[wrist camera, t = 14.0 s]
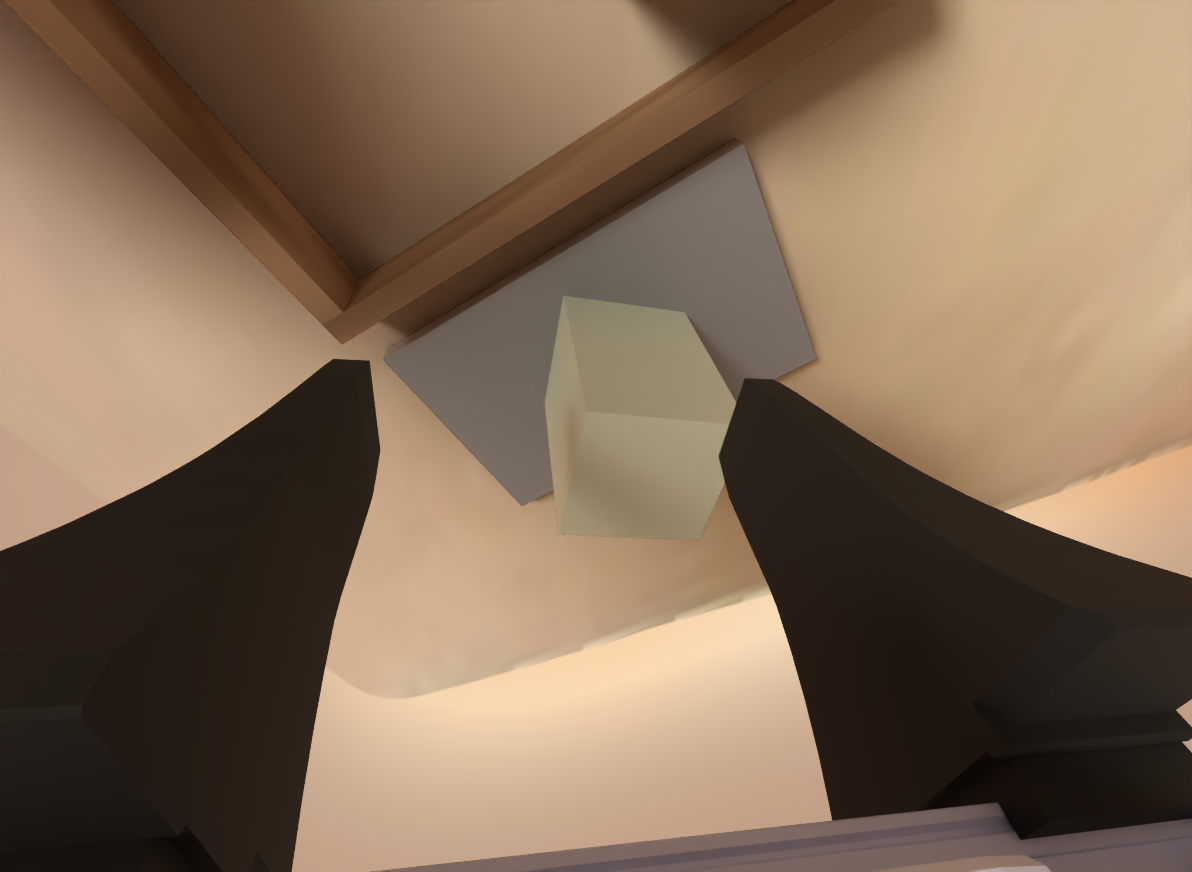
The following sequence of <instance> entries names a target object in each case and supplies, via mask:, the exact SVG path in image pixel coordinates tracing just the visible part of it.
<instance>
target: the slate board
mask: <svg viewBox="0 0 1192 872" xmlns="http://www.w3.org/2000/svg"><path fill="white" fill-rule="evenodd" d="M563 296H570V297H577V298H585V299H592V300H599V301H607V302H614V303H621V304H629V305H636V306H643V307H651V308H658V309H665V310H672V311H680V312H685V314H686V315H687V317H688V319H689V321H690V322H691V324H692V326H693V328H694V329H695V331H696V333H697V335H698V336H699V338H700V340H701V342H702V343H703V345H704V347H705V349H706V350H707V352H708V354H709V356H710V357H711V359H712V361H713V363H714V364H715V366H716V368H717V370H718V371H719V373H720V375H721V377H722V378H723V380H724V382H725V384H726V385H727V387H728V389H729V391H730V392H731V394H732V396H733V398H734V399H737V398H738V396H739V394H740V391H741V388H742V385H743V382H744V379H745V378H754V379H773V380H775V379H777V378H779V377H781V376H783V375H785V374H787V373H789V372H791V371H793V370H795V369H797V368H799V367H801V366H803V365H805V364H807V363H809V362H811V361H813V360H815V359H817V358H816V355H815V352H814V349H813V346H812V343H811V340H810V337H809V334H808V331H807V328H806V325H805V322H804V320H803V317H802V314H801V311H800V308H799V305H798V302H797V299H796V296H795V293H794V290H793V287H792V284H791V281H790V278H789V275H788V272H787V269H786V266H785V263H784V260H783V257H782V255H781V252H780V249H779V246H778V243H777V240H776V237H775V234H774V231H773V228H772V225H771V222H770V219H769V216H768V213H767V210H766V207H765V204H764V201H763V198H762V195H761V193H760V190H759V187H758V184H757V181H756V178H755V175H754V172H753V169H752V166H751V163H750V160H749V157H748V154H747V151H746V148H745V145H744V143H742V142H741V141H739V140H737V139H736V138H735V139H734V140H732V141H730V142H729V143H727V144H725V145H724V146H722V147H720V148H719V149H717V150H715V151H714V152H712V153H710V154H709V155H707V156H705V157H704V158H702V159H701V160H699V161H697V162H696V163H694V164H692V165H691V166H689V167H687V168H686V169H684V170H682V171H681V172H679V173H677V174H676V175H674V176H672V177H671V178H669V179H667V180H666V181H664V182H662V183H661V184H659V185H657V186H656V187H654V188H652V189H651V190H649V191H648V192H646V193H644V194H643V195H641V196H639V197H638V198H636V199H634V200H633V201H631V202H629V203H628V204H626V205H624V206H623V207H621V208H619V209H618V210H616V211H614V212H613V213H611V214H609V215H608V216H606V217H604V218H603V219H601V220H599V221H598V222H596V223H595V224H593V225H591V226H590V227H588V228H586V229H585V230H583V231H581V232H580V233H578V234H576V235H575V236H573V237H571V238H570V239H568V240H566V241H565V242H563V243H561V244H560V245H558V246H556V247H555V248H553V249H551V250H550V251H548V252H546V253H545V254H543V255H542V256H540V257H538V258H537V259H535V260H533V261H532V262H530V263H528V264H527V265H525V266H523V267H522V268H520V269H518V270H517V271H515V272H513V273H512V274H510V275H508V276H507V277H505V278H503V279H502V280H500V281H498V282H497V283H495V284H493V285H492V286H490V287H489V288H487V289H485V290H484V291H482V292H480V293H479V294H477V295H475V296H474V297H472V298H470V299H469V300H467V301H465V302H464V303H462V304H460V305H459V306H457V307H455V308H454V309H452V310H450V311H449V312H447V313H445V314H444V315H442V316H440V317H439V318H437V319H436V320H434V321H432V322H431V323H429V324H427V325H426V326H424V327H422V328H421V329H419V330H417V331H416V332H414V333H412V334H411V335H409V336H407V337H406V338H404V339H402V340H401V341H399V342H397V343H396V344H394V345H392V346H391V347H389V348H387V350H386V353H385V356H384V359H383V360H384V361H385V362H386V363H387V364H388V366H389V367H390V368H391V369H392V370H393V371H394V372H395V373H396V374H397V375H398V376H399V377H400V378H401V379H402V380H403V381H404V382H405V383H406V384H407V386H408V387H409V388H410V389H411V390H412V391H413V392H414V393H415V394H416V395H417V396H418V397H419V398H420V399H421V400H422V401H423V402H424V403H425V405H426V406H427V407H428V408H429V409H430V410H431V411H432V412H433V413H434V414H435V415H436V416H437V417H438V418H439V419H440V420H441V421H442V422H443V423H444V425H445V426H446V427H447V428H448V429H449V430H450V431H451V432H452V433H453V434H454V435H455V436H456V437H457V438H458V439H459V440H460V441H461V442H462V444H463V445H464V446H465V447H466V448H467V449H468V450H469V451H470V452H471V453H472V454H473V455H474V456H475V457H476V458H477V459H478V460H479V461H480V462H481V464H482V465H483V466H484V467H485V468H486V469H487V470H488V471H489V472H490V473H491V474H492V475H493V476H494V477H495V478H496V479H497V480H498V481H499V483H500V484H501V485H502V486H503V487H504V488H505V489H506V490H507V491H508V492H509V493H510V494H511V495H512V496H513V497H514V498H515V499H516V500H517V502H518V503H519V504H520V505H521V506H523V505H525V504H527V503H529V502H531V501H533V500H535V499H537V498H539V497H541V496H543V495H545V494H547V493H549V492H551V491H553V490H554V489H553V479H552V470H551V460H550V450H549V440H548V430H547V421H546V411H545V397H546V392H547V386H548V380H549V375H550V369H551V363H552V357H553V352H554V346H555V340H556V335H557V329H558V323H559V318H560V312H561V306H562V300H563Z"/></svg>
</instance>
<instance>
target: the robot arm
mask: <svg viewBox="0 0 1192 872" xmlns="http://www.w3.org/2000/svg"><path fill="white" fill-rule="evenodd" d="M379 455H380V443H379V435H378V427H377V419H376V411H375V402H374V394H373V386H372V378H371V369H370V361H365V360H343V359H333V360H331V361H330V362H329V363H327V364H326V365H324V366H323V367H322V368H321V369H319V370H318V371H317V372H316V373H314V374H313V375H312V376H310V377H309V378H308V379H307V380H305V381H304V382H303V383H302V384H300V385H299V386H298V387H297V388H295V389H294V390H293V391H292V392H290V393H289V394H288V395H286V396H285V397H284V398H282V399H281V400H280V401H279V402H277V403H276V404H275V405H273V406H272V407H271V408H269V409H268V410H267V411H265V412H264V413H263V414H261V415H260V416H259V417H257V418H256V419H254V420H253V421H251V422H250V423H248V424H247V425H245V426H244V427H243V428H241V429H240V430H238V431H237V432H235V433H234V434H232V435H231V436H229V437H228V438H226V439H225V440H223V441H222V442H221V443H219V444H218V445H216V446H215V447H213V448H212V449H210V450H208V451H207V452H205V453H204V454H202V455H200V456H199V457H197V458H195V459H194V460H192V461H190V462H189V463H187V464H185V465H183V466H182V467H180V468H178V469H176V470H174V471H173V472H171V473H169V474H167V475H165V476H164V477H162V478H160V479H158V480H156V481H155V482H153V483H151V484H149V485H147V486H145V487H143V488H141V489H139V490H137V491H135V492H133V493H131V494H129V495H127V496H125V497H123V498H120V499H118V500H116V501H114V502H112V503H110V504H108V505H106V506H104V507H102V508H99V509H97V510H95V511H93V512H91V513H89V514H87V515H85V516H83V517H80V518H79V519H76V520H74V521H72V522H70V523H67V524H65V525H63V526H61V527H59V528H56V529H54V530H51V531H49V532H46V533H44V534H41V535H39V536H37V537H34V538H32V539H30V540H27V541H25V542H22V543H20V544H18V545H15V546H12V547H10V548H7V549H5V550H2V551H0V872H292V865H293V858H294V851H295V844H296V837H297V831H298V824H299V817H300V809H301V803H302V797H303V791H304V784H305V778H306V772H307V766H308V760H309V753H310V748H311V742H312V736H313V730H314V724H315V719H316V713H317V708H318V702H319V697H320V691H321V685H322V681H323V675H324V670H325V665H326V660H327V655H328V650H329V645H330V640H331V635H332V630H333V625H334V620H335V617H336V613H337V609H338V605H339V602H340V598H341V595H342V592H343V588H344V585H345V582H346V579H347V576H348V573H349V570H350V567H351V563H352V560H353V557H354V554H355V551H356V548H357V545H358V541H359V538H360V535H361V532H362V529H363V526H364V522H365V519H366V516H367V513H368V510H369V506H370V503H371V500H372V496H373V491H374V485H375V480H376V474H377V468H378V461H379ZM718 457H719V461H720V465H721V469H722V473H723V477H724V481H725V484H726V487H727V491H728V494H729V498H730V500H731V502H732V505H733V507H734V509H735V512H736V514H737V516H738V519H739V521H740V523H741V526H742V528H743V530H744V532H745V535H746V537H747V539H748V541H749V543H750V546H751V548H752V550H753V552H754V555H755V557H756V559H757V561H758V563H759V566H760V568H761V570H762V572H763V575H764V577H765V579H766V581H767V584H768V586H769V588H770V591H771V593H772V596H773V598H774V601H775V603H776V606H777V609H778V612H779V614H780V618H781V621H782V624H783V627H784V630H785V633H786V637H787V639H788V643H789V646H790V649H791V652H792V656H793V660H794V663H795V666H796V670H797V673H798V677H799V680H800V684H801V688H802V691H803V695H804V698H805V702H806V706H807V710H808V714H809V718H810V722H811V726H812V730H813V734H814V738H815V742H816V746H817V750H818V754H819V759H820V764H821V768H822V773H823V778H824V783H825V787H826V792H827V797H828V801H829V806H830V811H831V816H832V821H826V822H816V823H807V824H798V825H789V826H780V827H771V828H762V829H753V830H744V831H735V832H725V833H716V834H707V835H698V836H690V837H680V838H672V839H662V840H653V841H644V842H636V843H626V844H617V845H608V846H599V847H590V848H581V849H572V850H563V851H554V852H545V853H536V854H527V855H518V856H509V857H500V858H491V859H482V860H473V861H463V862H454V863H446V864H436V865H428V866H418V867H410V868H401V869H392V870H382V871H373V872H1192V753H1191V751H1190V750H1189V749H1188V748H1187V747H1186V746H1185V745H1184V744H1183V743H1182V741H1189V740H1190V739H1191V738H1192V727H1191V726H1190V725H1189V724H1188V723H1187V722H1186V721H1185V720H1184V718H1182V716H1181V715H1180V714H1179V713H1178V712H1177V711H1176V709H1178V708H1179V707H1181V706H1182V705H1184V704H1185V703H1187V702H1188V701H1189V700H1191V699H1192V578H1191V577H1187V576H1184V575H1181V574H1178V573H1174V572H1171V571H1168V570H1164V569H1161V568H1158V567H1155V566H1151V565H1148V564H1145V563H1141V562H1138V561H1135V560H1132V559H1129V558H1125V557H1122V556H1118V555H1116V554H1113V553H1110V552H1106V551H1104V550H1101V549H1098V548H1095V547H1092V546H1090V545H1087V544H1084V543H1081V542H1079V541H1076V540H1073V539H1070V538H1067V537H1065V536H1062V535H1059V534H1056V533H1054V532H1051V531H1049V530H1046V529H1044V528H1041V527H1038V526H1036V525H1034V524H1031V523H1029V522H1026V521H1024V520H1021V519H1019V518H1016V517H1015V516H1012V515H1010V514H1008V513H1005V512H1003V511H1001V510H998V509H996V508H994V507H991V506H989V505H987V504H985V503H982V502H980V501H978V500H976V499H974V498H972V497H970V496H967V495H965V494H963V493H961V492H959V491H957V490H955V489H953V488H952V487H950V486H948V485H946V484H944V483H942V482H940V481H938V480H936V479H934V478H932V477H930V476H928V475H926V474H924V473H923V472H921V471H919V470H917V469H915V468H914V467H912V466H910V465H908V464H907V463H905V462H903V461H902V460H900V459H898V458H897V457H895V456H893V455H892V454H890V453H888V452H887V451H885V450H883V449H882V448H880V447H878V446H877V445H875V444H874V443H872V442H870V441H869V440H867V439H866V438H864V437H863V436H861V435H859V434H858V433H856V432H855V431H853V430H852V429H850V428H849V427H847V426H846V425H844V424H843V423H841V422H840V421H838V420H837V419H835V418H834V417H832V416H831V415H829V414H828V413H826V412H825V411H823V410H822V409H820V408H819V407H817V406H816V405H814V404H813V403H811V402H810V401H808V400H807V399H805V398H804V397H802V396H801V395H799V394H798V393H796V392H794V391H793V390H791V389H789V388H788V387H786V386H784V385H783V384H781V383H779V382H777V381H775V380H773V379H754V378H745V379H744V382H743V385H742V388H741V391H740V394H739V396H738V399H737V402H736V405H735V408H734V411H733V414H732V417H731V420H730V423H729V426H728V429H727V432H726V435H725V438H724V441H723V444H722V447H721V450H720V453H719V456H718Z"/></svg>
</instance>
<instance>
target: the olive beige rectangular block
mask: <svg viewBox="0 0 1192 872" xmlns="http://www.w3.org/2000/svg"><path fill="white" fill-rule="evenodd" d="M735 405H736V401H735V399H734V398H733V396H732V394H731V392H730V391H729V389H728V387H727V385H726V384H725V382H724V380H723V378H722V377H721V375H720V373H719V371H718V370H717V368H716V366H715V364H714V363H713V361H712V359H711V357H710V356H709V354H708V352H707V350H706V349H705V347H704V345H703V343H702V342H701V340H700V338H699V336H698V335H697V333H696V331H695V329H694V328H693V326H692V324H691V322H690V321H689V319H688V317H687V315H686V314H685V312H680V311H672V310H665V309H658V308H651V307H643V306H636V305H629V304H621V303H614V302H607V301H599V300H592V299H585V298H577V297H570V296H563V300H562V306H561V312H560V318H559V323H558V329H557V335H556V340H555V346H554V352H553V357H552V363H551V369H550V375H549V380H548V386H547V392H546V397H545V411H546V421H547V430H548V440H549V450H550V460H551V470H552V479H553V489H554V499H555V509H556V519H557V528H558V535H579V536H603V537H627V538H650V539H674V540H698V541H699V540H700V538H701V535H702V533H703V531H704V529H705V526H706V524H707V522H708V520H709V517H710V515H711V513H712V511H713V508H714V506H715V504H716V501H717V499H718V497H719V495H720V492H721V490H722V488H723V486H724V483H725V481H724V477H723V473H722V469H721V465H720V461H719V457H718V456H719V453H720V450H721V447H722V444H723V441H724V438H725V435H726V432H727V429H728V426H729V423H730V420H731V417H732V414H733V411H734V408H735Z"/></svg>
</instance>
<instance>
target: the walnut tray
mask: <svg viewBox="0 0 1192 872" xmlns="http://www.w3.org/2000/svg"><path fill="white" fill-rule="evenodd" d="M3 1H4V2H5V3H6V4H7V5H8V6H9V7H10V8H11V9H12V10H13V11H14V12H15V13H16V14H17V15H18V16H19V17H20V18H21V19H22V20H23V21H24V22H25V23H26V24H27V25H28V26H29V27H30V28H31V29H32V30H33V31H34V32H35V33H36V34H37V35H38V36H39V37H40V38H41V40H42V41H43V42H44V43H45V44H46V45H47V46H48V47H49V48H50V49H51V50H52V51H53V52H54V53H55V54H56V55H57V56H58V57H59V58H60V59H61V60H62V61H63V62H64V63H65V64H66V65H67V66H68V67H69V68H70V69H71V70H72V71H73V72H74V73H75V74H76V75H77V76H78V77H79V78H80V79H81V80H82V81H83V82H84V83H85V84H86V85H87V86H88V87H89V88H90V89H91V90H92V91H93V92H94V93H95V94H96V95H97V96H98V97H99V98H100V99H101V100H102V101H103V102H104V103H105V104H106V105H107V107H108V108H109V109H110V110H111V111H112V112H113V113H114V114H115V115H116V116H117V117H118V118H119V119H120V120H121V121H122V122H123V123H124V124H125V125H126V126H127V127H128V128H129V129H130V130H131V131H132V132H133V133H134V134H135V135H136V136H137V137H138V138H139V139H140V140H141V141H142V142H143V143H144V144H145V145H146V146H147V147H148V148H149V149H150V150H151V151H152V152H153V153H154V154H155V155H156V156H157V157H158V158H159V159H160V160H161V161H162V162H163V163H164V164H165V165H166V166H167V167H168V168H169V169H170V170H171V171H172V172H173V174H174V175H175V176H176V177H177V178H178V179H179V180H180V181H181V182H182V183H183V184H184V185H185V186H186V187H187V188H188V189H189V190H190V191H191V192H192V193H193V194H194V195H195V196H196V197H197V198H198V199H199V200H200V201H201V202H202V203H203V204H204V205H205V206H206V207H207V208H208V209H209V210H210V211H211V212H212V213H213V214H214V215H215V216H216V217H217V218H218V219H219V220H220V221H221V222H222V223H223V224H224V225H225V226H226V227H227V228H228V229H229V230H230V231H231V232H232V233H233V234H234V235H235V236H236V237H237V238H238V239H239V241H240V242H241V243H242V244H243V245H244V246H245V247H246V248H247V249H248V250H249V251H250V252H251V253H252V254H253V255H254V256H255V257H256V258H257V259H258V260H259V261H260V262H261V263H262V264H263V265H264V266H265V267H266V268H267V269H268V270H269V271H270V272H271V273H272V274H273V275H274V276H275V277H276V278H277V279H278V280H279V281H280V282H281V283H282V284H283V285H284V286H285V287H286V288H287V289H288V290H289V291H290V292H291V293H292V294H293V295H294V296H295V297H296V298H297V299H298V300H299V301H300V302H301V303H302V304H303V305H304V306H305V308H306V309H307V310H308V311H309V312H310V313H311V314H312V315H313V316H314V317H315V318H316V319H317V320H318V321H319V322H320V323H321V324H322V325H323V326H324V327H325V328H326V329H327V330H328V331H329V332H330V333H331V334H332V335H333V336H334V337H335V338H336V339H337V340H338V341H339V342H340V343H341V344H344V343H345V342H347V341H349V340H350V339H352V338H353V337H355V336H357V335H358V334H360V333H361V332H363V331H365V330H366V329H368V328H370V327H371V326H373V325H374V324H376V323H378V322H379V321H381V320H382V319H384V318H386V317H387V316H389V315H391V314H392V313H394V312H395V311H397V310H399V309H400V308H402V307H404V306H405V305H407V304H408V303H410V302H412V301H413V300H415V299H416V298H418V297H420V296H421V295H423V294H425V293H426V292H428V291H429V290H431V289H433V288H434V287H436V286H437V285H439V284H441V283H442V282H444V281H446V280H447V279H449V278H450V277H452V276H454V275H455V274H457V273H458V272H460V271H462V270H463V269H465V268H467V267H468V266H470V265H471V264H473V263H475V262H476V261H478V260H480V259H481V258H483V257H484V256H486V255H488V254H489V253H491V252H492V251H494V250H496V249H497V248H499V247H501V246H502V245H504V244H505V243H507V242H509V241H510V240H512V239H513V238H515V237H517V236H518V235H520V234H522V233H523V232H525V231H526V230H528V229H530V228H531V227H533V226H534V225H536V224H538V223H539V222H541V221H543V220H544V219H546V218H547V217H549V216H551V215H552V214H554V213H556V212H557V211H559V210H560V209H562V208H564V207H565V206H567V205H568V204H570V203H572V202H573V201H575V200H577V199H578V198H580V197H581V196H583V195H585V194H586V193H588V192H589V191H591V190H593V189H594V188H596V187H598V186H599V185H601V184H602V183H604V182H606V181H607V180H609V179H611V178H612V177H614V176H615V175H617V174H619V173H620V172H622V171H623V170H625V169H627V168H628V167H630V166H632V165H633V164H635V163H636V162H638V161H640V160H641V159H643V158H644V157H646V156H648V155H649V154H651V153H653V152H654V151H656V150H657V149H659V148H661V147H662V146H664V145H665V144H667V143H669V142H670V141H672V140H674V139H675V138H677V137H678V136H680V135H682V134H683V133H685V132H687V131H688V130H690V129H691V128H693V127H695V126H696V125H698V124H699V123H701V122H703V121H704V120H706V119H708V118H709V117H711V116H712V115H714V114H716V113H717V112H719V111H720V110H722V109H724V108H725V107H727V106H729V105H730V104H732V103H733V102H735V101H737V100H738V99H740V98H741V97H743V96H745V95H746V94H748V93H750V92H751V91H753V90H754V89H756V88H758V87H759V86H761V85H763V84H764V83H766V82H767V81H769V80H771V79H772V78H774V77H775V76H777V75H779V74H780V73H782V72H784V71H785V70H787V69H788V68H790V67H792V66H793V65H795V64H796V63H798V62H800V61H801V60H803V59H805V58H806V57H808V56H809V55H811V54H813V53H814V52H816V51H817V50H819V49H821V48H822V47H824V46H826V45H827V44H829V43H830V42H832V41H834V40H835V39H837V38H839V37H840V36H842V35H843V34H845V33H847V32H848V31H850V30H851V29H853V28H855V27H856V26H858V25H860V24H861V23H863V22H864V21H866V20H868V19H869V18H871V17H872V16H874V15H876V14H877V13H879V12H881V11H882V10H884V9H885V8H887V7H889V6H890V5H892V4H893V3H895V2H897V1H898V0H794V1H792V2H791V3H789V4H788V5H786V6H785V7H783V8H781V9H780V10H778V11H777V12H775V13H774V14H772V15H771V16H769V17H767V18H766V19H764V20H763V21H761V22H760V23H758V24H757V25H755V26H753V27H752V28H750V29H749V30H747V31H746V32H744V33H743V34H741V35H740V36H738V37H736V38H735V39H733V40H732V41H730V42H729V43H727V44H726V45H724V46H722V47H721V48H719V49H718V50H716V51H715V52H713V53H712V54H710V55H708V56H707V57H705V58H704V59H702V60H701V61H699V62H698V63H696V64H694V65H693V66H691V67H690V68H688V69H687V70H685V71H684V72H682V73H680V74H679V75H677V76H676V77H674V78H673V79H671V80H670V81H668V82H666V83H665V84H663V85H662V86H660V87H659V88H657V89H656V90H654V91H652V92H651V93H649V94H648V95H646V96H645V97H643V98H642V99H640V100H638V101H637V102H635V103H634V104H632V105H631V106H629V107H628V108H626V109H624V110H623V111H621V112H620V113H618V114H617V115H615V116H614V117H612V118H610V119H609V120H607V121H606V122H604V123H603V124H601V125H600V126H598V127H596V128H595V129H593V130H592V131H590V132H589V133H587V134H586V135H584V136H582V137H581V138H579V139H578V140H576V141H575V142H573V143H572V144H570V145H568V146H567V147H565V148H564V149H562V150H561V151H559V152H558V153H556V154H554V155H553V156H551V157H550V158H548V159H547V160H545V161H544V162H542V163H541V164H539V165H537V166H536V167H534V168H533V169H531V170H530V171H528V172H527V173H525V174H523V175H522V176H520V177H519V178H517V179H516V180H514V181H513V182H511V183H509V184H508V185H506V186H505V187H503V188H502V189H500V190H499V191H497V192H495V193H494V194H492V195H491V196H489V197H488V198H486V199H485V200H483V201H481V202H480V203H478V204H477V205H475V206H474V207H472V208H471V209H469V210H467V211H466V212H464V213H463V214H461V215H460V216H458V217H457V218H455V219H453V220H452V221H450V222H449V223H447V224H446V225H444V226H443V227H441V228H439V229H438V230H436V231H435V232H433V233H432V234H430V235H429V236H427V237H425V238H424V239H422V240H421V241H419V242H418V243H416V244H415V245H413V246H411V247H410V248H408V249H407V250H405V251H404V252H402V253H401V254H399V255H397V256H396V257H394V258H393V259H391V260H390V261H388V262H387V263H385V264H383V265H382V266H380V267H379V268H377V269H376V270H374V271H373V272H371V273H369V274H368V275H366V276H365V277H363V278H362V279H360V280H359V279H358V278H357V277H356V276H355V275H354V274H353V273H352V271H351V270H350V269H349V268H348V267H347V266H346V265H345V263H344V262H343V261H342V260H341V259H340V258H339V257H338V256H337V254H336V253H335V252H334V251H333V250H332V249H331V248H330V246H329V245H328V244H327V243H326V242H325V241H324V240H323V239H322V237H321V236H320V235H319V234H318V233H317V232H316V231H315V229H314V228H313V227H312V226H311V225H310V224H309V223H308V222H307V220H306V219H305V218H304V217H303V216H302V215H301V214H300V212H299V211H298V210H297V209H296V208H295V207H294V206H293V205H292V203H291V202H290V201H289V200H288V199H287V198H286V197H285V196H284V194H283V193H282V192H281V191H280V190H279V189H278V188H277V186H276V185H275V184H274V183H273V182H272V181H271V180H270V179H269V177H268V176H267V175H266V174H265V173H264V172H263V171H262V169H261V168H260V167H259V166H258V165H257V164H256V163H255V162H254V160H253V159H252V158H251V157H250V156H249V155H248V154H247V152H246V151H245V150H244V149H243V148H242V147H241V146H240V145H239V143H238V142H237V141H236V140H235V139H234V138H233V137H232V135H231V134H230V133H229V132H228V131H227V130H226V129H225V128H224V126H223V125H222V124H221V123H220V122H219V121H218V120H217V119H216V117H215V116H214V115H213V114H212V113H211V112H210V111H209V109H208V108H207V107H206V106H205V105H204V104H203V103H202V102H201V100H200V99H199V98H198V97H197V96H196V95H195V94H194V92H193V91H192V90H191V89H190V88H189V87H188V86H187V85H186V83H185V82H184V81H183V80H182V79H181V78H180V77H179V75H178V74H177V73H176V72H175V71H174V70H173V69H172V68H171V66H170V65H169V64H168V63H167V62H166V61H165V60H164V58H163V57H162V56H161V55H160V54H159V53H158V52H157V51H156V49H155V48H154V47H153V46H152V45H151V44H150V43H149V42H148V40H147V39H146V38H145V37H144V36H143V35H142V34H141V32H140V31H139V30H138V29H137V28H136V27H135V26H134V25H133V23H132V22H131V21H130V20H129V19H128V18H127V17H126V15H125V14H124V13H123V12H122V11H121V10H120V9H119V8H118V6H117V5H116V4H115V3H114V2H113V1H112V0H3Z"/></svg>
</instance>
